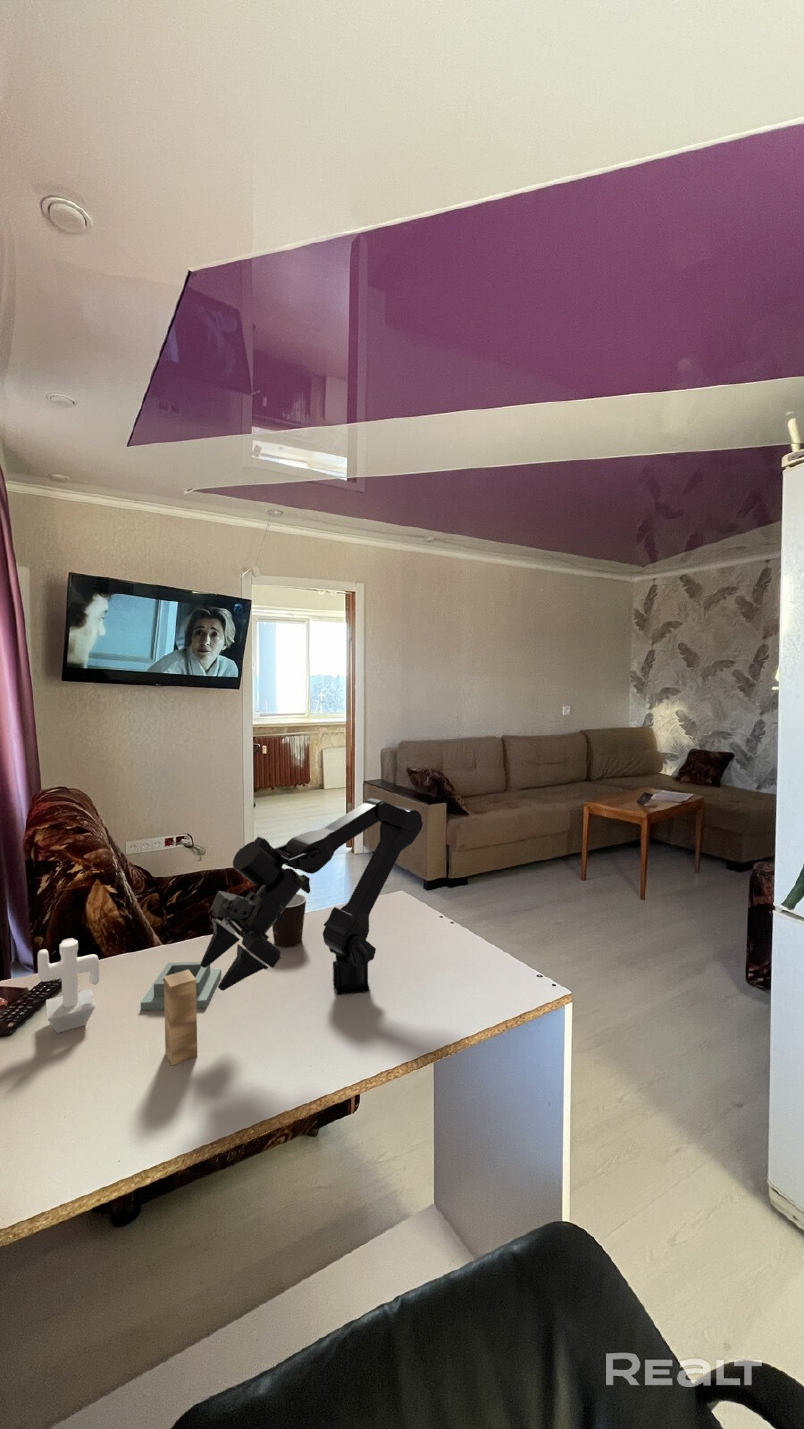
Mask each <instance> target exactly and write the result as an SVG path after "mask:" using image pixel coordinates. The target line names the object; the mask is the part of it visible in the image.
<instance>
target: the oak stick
mask: <svg viewBox="0 0 804 1429" xmlns="http://www.w3.org/2000/svg"><path fill="white" fill-rule="evenodd" d="M164 1007H165V1009H164V1042H165V1043H164V1046H165V1047H164V1048H165V1055H166V1056H167V1059H168V1062H169V1063H170V1065H171V1066H175V1065H177V1064H181V1063H183V1062H185V1061H189V1060H191V1059H194V1058H196V1057H198V1020H197V1019H198V1017H197V1014H198V1013H197V1009H198V1008H197V1007H196V979H195V977H194V976H193V974H192V973H191V972H190V970H189V969H188V970H185V971H181V972H178V973H174V974H171V975H167V976H164Z"/></svg>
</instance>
